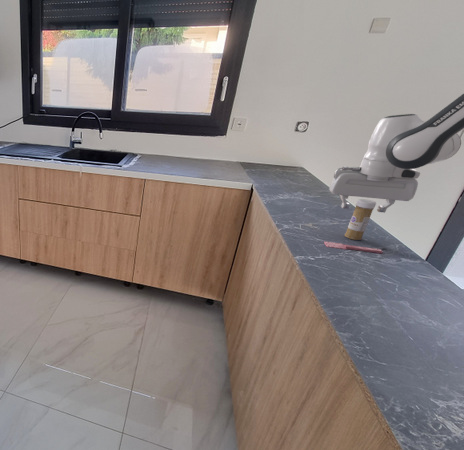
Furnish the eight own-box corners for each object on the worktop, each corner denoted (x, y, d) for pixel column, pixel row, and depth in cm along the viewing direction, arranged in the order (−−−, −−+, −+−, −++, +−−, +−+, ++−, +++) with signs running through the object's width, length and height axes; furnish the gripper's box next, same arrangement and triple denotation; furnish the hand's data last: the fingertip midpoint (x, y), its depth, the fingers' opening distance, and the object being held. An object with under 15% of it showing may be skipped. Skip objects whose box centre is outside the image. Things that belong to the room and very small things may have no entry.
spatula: (377, 249, 98) (378, 247, 98) (383, 255, 95) (384, 253, 95) (323, 242, 104) (324, 240, 104) (327, 247, 101) (327, 245, 100)
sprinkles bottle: (340, 235, 108) (354, 199, 103) (351, 234, 109) (365, 198, 104) (353, 241, 104) (368, 203, 99) (365, 240, 105) (380, 202, 100)
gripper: (340, 168, 98) (326, 208, 104) (428, 173, 91) (407, 217, 96) (334, 164, 104) (321, 203, 109) (416, 169, 96) (397, 210, 101)
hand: (362, 209), depth 103 cm, fingers open, 8 cm apart
